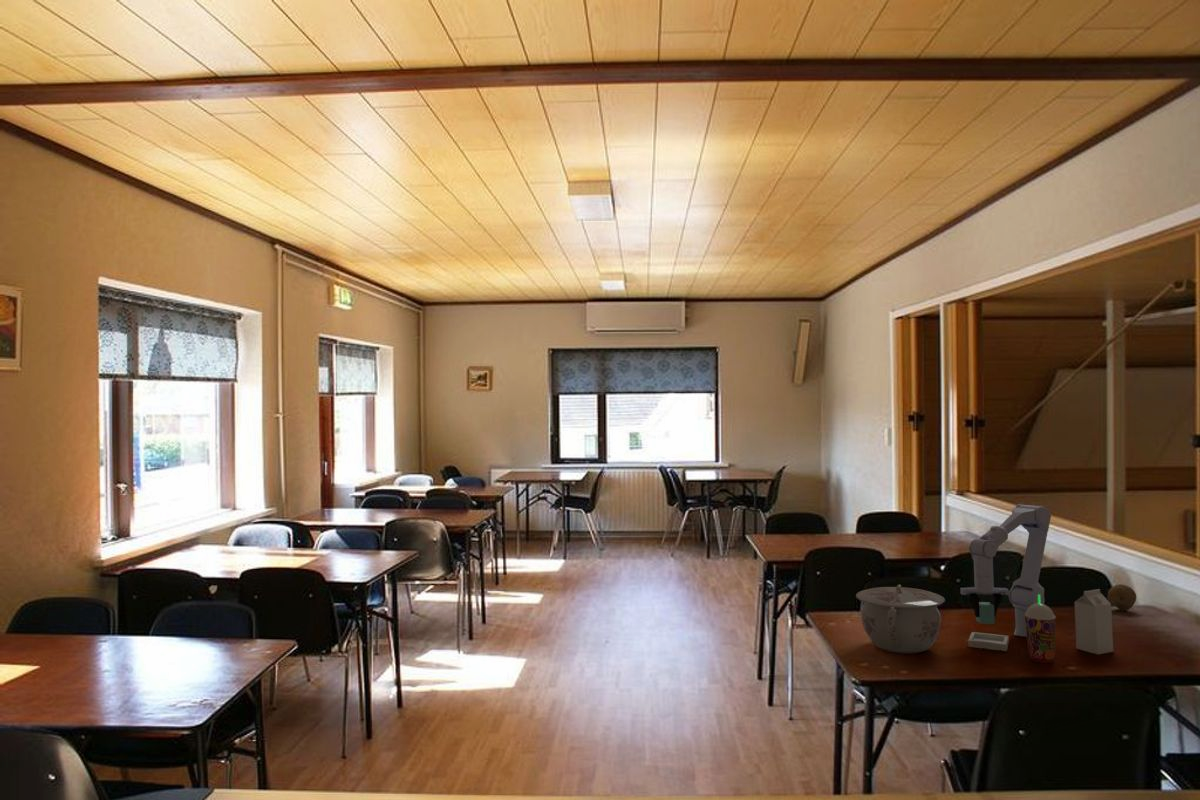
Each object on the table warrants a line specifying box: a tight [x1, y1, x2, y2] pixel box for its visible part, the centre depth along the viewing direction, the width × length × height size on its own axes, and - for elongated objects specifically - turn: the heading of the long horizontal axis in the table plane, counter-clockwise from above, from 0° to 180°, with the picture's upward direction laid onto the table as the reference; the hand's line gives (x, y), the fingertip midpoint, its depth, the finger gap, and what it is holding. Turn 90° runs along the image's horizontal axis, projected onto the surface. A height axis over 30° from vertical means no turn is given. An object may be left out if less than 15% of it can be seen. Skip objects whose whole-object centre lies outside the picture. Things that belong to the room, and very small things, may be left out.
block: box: [975, 601, 996, 625], centre depth 256 cm, size 4×4×6 cm
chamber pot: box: [855, 583, 946, 655], centre depth 253 cm, size 28×28×21 cm
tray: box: [967, 631, 1010, 652], centre depth 253 cm, size 11×11×2 cm
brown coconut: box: [1107, 584, 1137, 612], centre depth 290 cm, size 9×9×10 cm
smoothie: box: [1024, 595, 1057, 664], centre depth 236 cm, size 8×8×20 cm
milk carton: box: [1073, 588, 1114, 655], centre depth 244 cm, size 7×7×19 cm
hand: (985, 616), depth 256 cm, fingers closed on block, 4 cm apart
